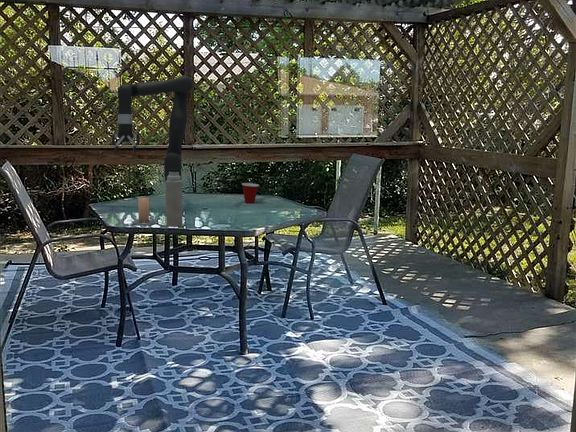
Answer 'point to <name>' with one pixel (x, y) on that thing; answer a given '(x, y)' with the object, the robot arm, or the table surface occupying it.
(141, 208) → the tan tapered cylinder
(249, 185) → the plastic cup
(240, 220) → the table surface
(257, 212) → the table surface
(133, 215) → the table surface
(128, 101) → the robot arm
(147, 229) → the table surface
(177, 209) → the thermos bottle
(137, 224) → the coaster
